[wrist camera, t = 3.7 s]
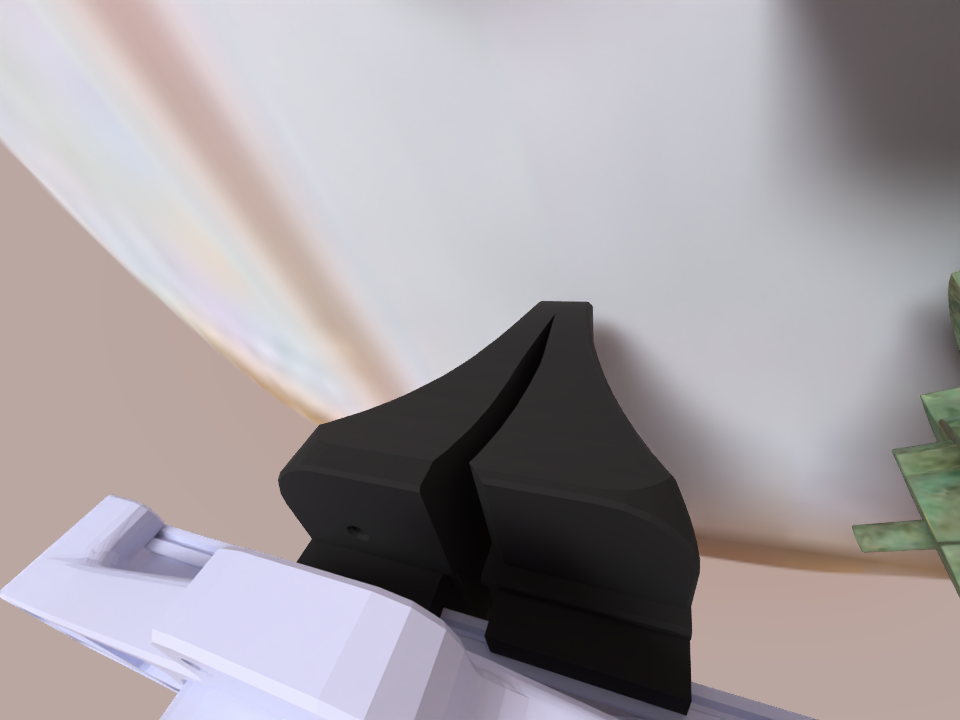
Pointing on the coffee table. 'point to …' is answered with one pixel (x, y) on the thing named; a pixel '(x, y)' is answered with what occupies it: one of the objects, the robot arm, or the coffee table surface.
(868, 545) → the decorative artifact
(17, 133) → the coffee table surface
